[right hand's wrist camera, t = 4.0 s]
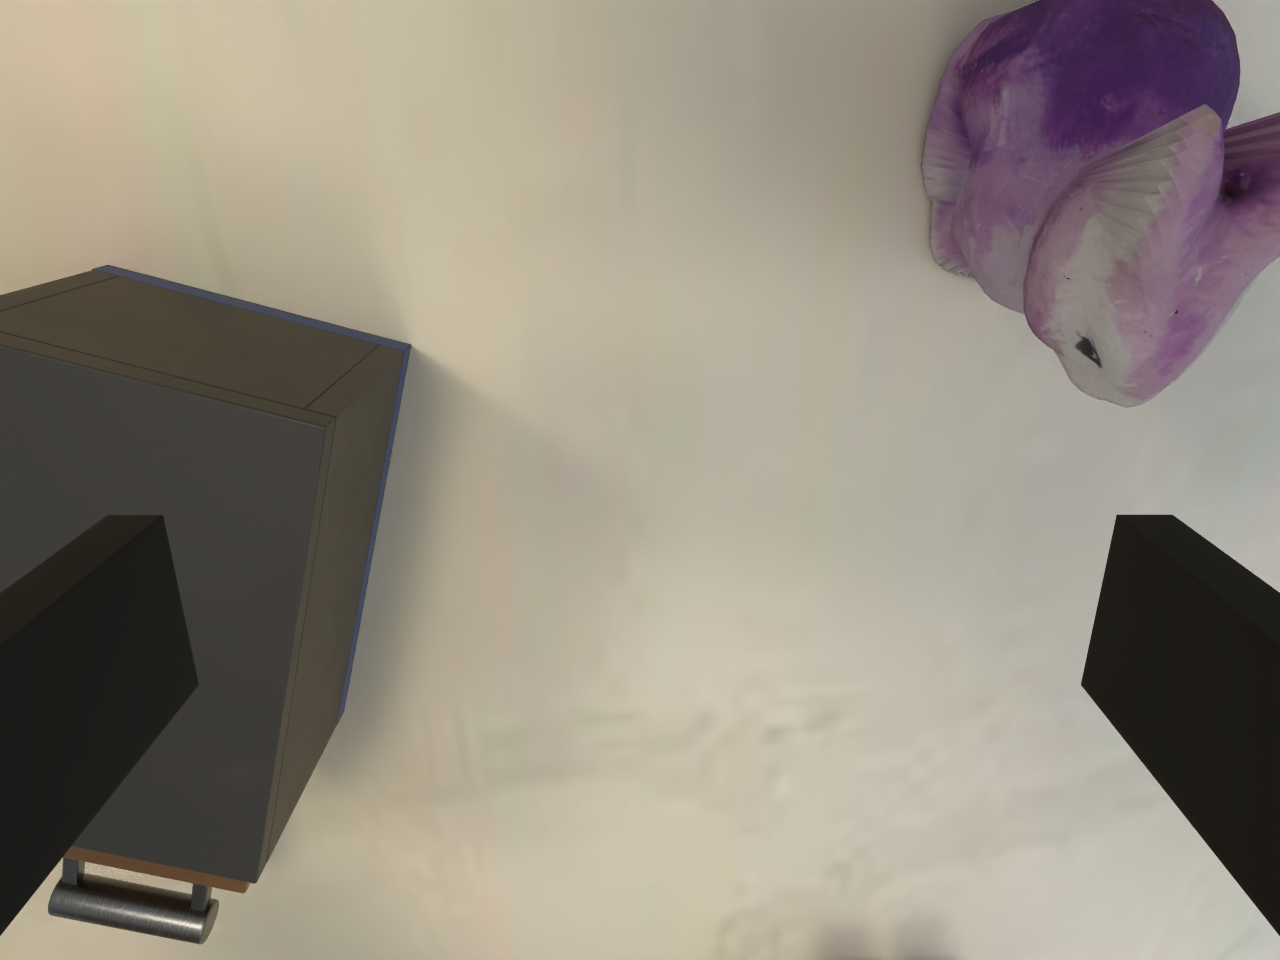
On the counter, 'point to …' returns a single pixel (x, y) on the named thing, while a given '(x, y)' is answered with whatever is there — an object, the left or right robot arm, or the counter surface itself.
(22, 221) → the counter surface
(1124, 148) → the figurine
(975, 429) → the counter surface
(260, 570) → the cabinet
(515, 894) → the counter surface
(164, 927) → the drawer
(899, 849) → the counter surface
